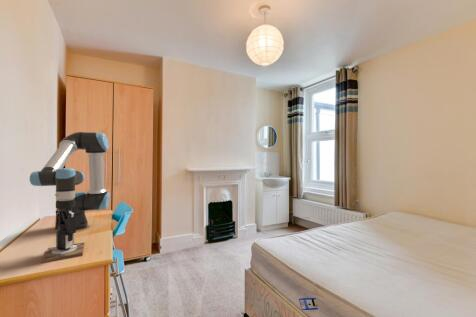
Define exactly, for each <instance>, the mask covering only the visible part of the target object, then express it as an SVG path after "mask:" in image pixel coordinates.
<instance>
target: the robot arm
mask: <svg viewBox="0 0 476 317" xmlns="http://www.w3.org/2000/svg"><path fill="white" fill-rule="evenodd" d="M109 147H110V146H109V140H108V137H107V134H105V133H103V132H87V131H77V132H76V131H75V132H73V133H71V134H69V135H67V136H65V137H63V139H62V140H60V142H59V143H58V148H57V149H56V150H55V152H54V153H53V155H51V157H50V158H49V160H48V161H47V162H46V164H45V165H44V167H43V168H42V169H41V170H37V171H33V172H30V176H29V182H30V185H32V186H33V187H47V186H48V187H50V186H51V187H52V186H55V193H54V195H55V209H57V210H55V226H54V229H55V230H56V231H57V230H58V229H59V223H62V222H65V226H66V232H67V234H65V235H66V246H65V248H66V249H67V248H70V247H73V233H74V234H75V233H76V232H77V229H81V228H84V227H87V226H89V220H88V219H87V216H86V211H103V210H107V208H108V206H109V204H110V200H111V193H110V192H108V190H107V189H106V188H105V168H104V165H105V164H104V155H105V154H106V152H107V151H108V150H109ZM78 150H84V151H85V153H86V154H87V155H88V174H89V175H88V176H89V180H88V181H89V189H88V191H87V192H86V191H77V192H76V186H79V185H81V184H82V183H83V182H84V181H85V179H86V175H85V174H84V173H83V171H80V170H76V169H75V168H73V167H70V168H69V167H65V165H66V164H67V162H68V160H70V158H71V156H72V155H73V154H75V152H77V151H78ZM64 167H65V168H64Z"/></svg>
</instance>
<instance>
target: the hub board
mask: <svg viewBox="0 0 476 317" xmlns="http://www.w3.org/2000/svg"><path fill="white" fill-rule="evenodd" d="M84 249H85V242H78V243H77V242H76V243H74V244H73V247H70V248H67V249H61V250H59V249H57V248H56V246H54V247H48V248H47V249H46V251H45V253H44V255H43V257H42V259H41V261H40V262H41V264H44V263H49V262H56V261H62V260H66V259H71V258H76V257H82V256H83V253H84Z"/></svg>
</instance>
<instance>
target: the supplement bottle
mask: <svg viewBox="0 0 476 317" xmlns="http://www.w3.org/2000/svg"><path fill="white" fill-rule="evenodd" d="M65 234H67V232H66V226H65V222H62V223H59V229H58V230H56V232H55V238H56V239H55V247H56V248H57V249H59V250H61V249H66V248H65V246H66V235H65ZM74 234H75V233H73V244H75V241H74V240H75V237H74V236H75V235H74Z"/></svg>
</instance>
